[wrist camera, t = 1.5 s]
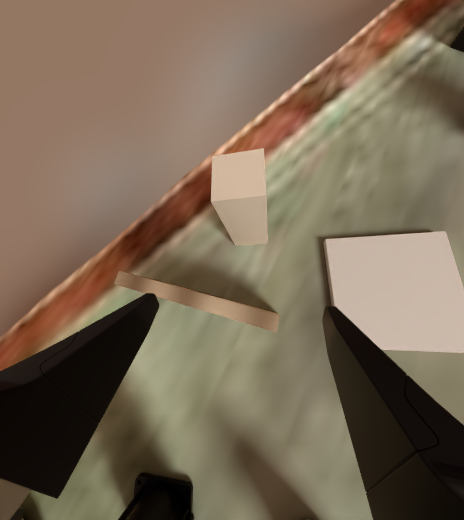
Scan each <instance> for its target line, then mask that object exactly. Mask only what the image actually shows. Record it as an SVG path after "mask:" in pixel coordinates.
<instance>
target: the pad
mask: <svg viewBox="0 0 464 520" xmlns="http://www.w3.org/2000/svg"><path fill="white" fill-rule="evenodd" d="M323 244H324V252H325V259H326V267H327V274H328V282H329V289H330V297H331V304H332V306H336V307H337V308H338V309H339V310H340V311H341V312H342V313H343V314H344V315H345V316H347V317H348V318H349V319H350V320H351V321H352V322H353V323H354V324H355V325H356V326H357V327H358V328H359V329H360V330H361V331H362V332H363V333H364V334H365V335H366V336H367V337H369V338H370V339H371V340H372V341H373V342H374V343H375V344H376V345H377V346H378V347H379V348H380V349H381V350H406V351H433V352H459V353H464V288H463V285H462V282H461V279H460V275H459V272H458V269H457V266H456V263H455V260H454V257H453V253H452V250H451V247H450V244H449V241H448V238H447V235H446V231H443V232H428V233H413V234H398V235H382V236H367V237H352V238H337V239H325V241H324V242H323Z"/></svg>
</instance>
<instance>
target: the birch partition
mask: <svg viewBox="0 0 464 520" xmlns="http://www.w3.org/2000/svg"><path fill="white" fill-rule="evenodd" d="M114 284H116V285H120V286H123V287H126V288H130V289H133V290H136V291H140V292H143V293H154V294H155V295H156V296H157V297H160V298H163V299H167V300H170V301H173V302H177V303H180V304H183V305H187V306H190V307H193V308H197V309H200V310H203V311H207V312H210V313H214V314H217V315H220V316H224V317H227V318H230V319H234V320H237V321H240V322H244V323H247V324H250V325H254V326H257V327H260V328H264V329H267V330H270V331H274V332H277V327H278V322H279V317H280V315H279V314H278V313H275V312H271V311H267V310H264V309H260V308H256V307H253V306H249V305H245V304H242V303H238V302H234V301H231V300H227V299H223V298H220V297H216V296H212V295H209V294H205V293H201V292H198V291H194V290H190V289H187V288H183V287H179V286H176V285H172V284H168V283H165V282H161V281H157V280H154V279H150V278H146V277H142V276H138V275H134V274H130V273H126V272H121V271H119V272H118V275H117V277H116V280H115V282H114Z"/></svg>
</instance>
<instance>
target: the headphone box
mask: <svg viewBox="0 0 464 520" xmlns="http://www.w3.org/2000/svg"><path fill="white" fill-rule="evenodd" d="M451 48H453V49H456V50H459V51H462V52H464V27H463V28H462V30H461V31H460V33H459V34H458V36H457V37H456V39H455V40H454V41H453V43H452V44H451Z"/></svg>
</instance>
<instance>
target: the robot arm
mask: <svg viewBox="0 0 464 520" xmlns="http://www.w3.org/2000/svg"><path fill="white" fill-rule="evenodd" d="M158 309H159V303H158V300H157V297H156V295H155V294H154V293H146V294H145V295H143V296H141V297H139V298H137V299H136V300H134V301H132V302H130V303H128V304H127V305H125V306H123V307H121V308H119V309H118V310H116V311H114V312H112V313H111V314H109V315H107V316H105V317H103V318H102V319H100V320H98V321H96V322H94V323H93V324H91V325H89V326H87V327H85V328H84V329H82V330H80V331H79V332H76V333H75V334H73V335H71V336H69V337H67V338H66V339H64V340H62V341H60V342H58V343H56V344H54V345H52V346H50V347H48V348H47V349H45V350H43V351H41V352H39V353H37V354H35V355H33V356H31V357H29V358H27V359H25V360H23V361H21V362H19V363H17V364H15V365H13V366H11V367H9V368H6V369H4V370H2V371H0V520H22V515H23V511H24V509H23V508H21V507H20V505H21V504H22V503H23V501H24V500H25V498H26V497H27V496H28V494H29V493H30V491H31V490H34V491H37V492H39V493H42V494H45V495H48V496H51V497H54V498H56V499H57V498H58V497H59V496H60V494H61V492H62V491H63V489H64V487H65V485H66V483H67V482H68V480H69V478H70V476H71V474H72V472H73V471H74V469H75V467H76V465H77V463H78V461H79V459H80V458H81V456H82V454H83V452H84V450H85V448H86V447H87V445H88V443H89V441H90V439H91V437H92V435H93V434H94V432H95V430H96V428H97V426H98V424H99V422H100V421H101V419H102V417H103V415H104V413H105V411H106V409H107V408H108V406H109V404H110V402H111V400H112V398H113V397H114V395H115V393H116V391H117V389H118V387H119V386H120V384H121V382H122V380H123V378H124V376H125V375H126V373H127V371H128V369H129V367H130V365H131V363H132V362H133V360H134V358H135V356H136V354H137V352H138V351H139V349H140V347H141V345H142V343H143V341H144V340H145V338H146V336H147V334H148V332H149V330H150V327H151V325H152V323H153V320H154V318H155V316H156V313H157V311H158ZM323 328H324V334H325V341H326V347H327V353H328V357H329V361H330V365H331V368H332V372H333V376H334V379H335V383H336V386H337V390H338V394H339V397H340V401H341V404H342V408H343V412H344V415H345V419H346V423H347V426H348V430H349V433H350V437H351V441H352V444H353V448H354V451H355V455H356V459H357V462H358V466H359V469H360V473H361V477H362V480H363V484H364V487H365V491H366V492H367V493H366V495H367V499H368V502H369V506H370V509H371V513H372V517H373V520H464V425H463V424H462V423H460V422H459V421H458V420H457V419H456V418H455V417H453V416H452V415H451V414H450V413H449V412H448V411H447V410H445V409H444V408H443V407H442V406H441V405H440V404H439V403H437V402H436V401H435V400H434V399H433V398H432V397H431V396H430V395H429V394H428V393H426V392H425V391H424V390H423V389H422V388H421V387H420V386H419V385H418V384H417V383H416V382H415V381H414V380H413V379H412V378H411V377H409V376H408V375H407V376H406V373H405V372H404V371H403V370H402V369H401V368H400V367H399V366H398V365H397V364H396V363H395V362H394V361H393V360H392V359H391V358H389V357H388V356H387V355H386V354H385V353H384V352H383V351H382V350H381V349H380V348H379V347H378V346H377V345H376V344H375V343H374V342H373V341H372V340H371V339H370V338H369V337H367V336H366V335H365V334H364V333H363V332H362V331H361V330H360V329H359V328H358V327H357V326H356V325H355V324H354V323H353V322H352V321H351V320H350V319H349V318H348V317H347V316H345V315H344V314H343V313H342V312H341V311H340V310H339V309H338V308H337V307H336V306H328V305H327V306H326V307H325V310H324V314H323ZM140 479H141V481H142V482H141V481H140ZM186 488H187V489H188V490H189V491H187V489H186ZM192 500H193V486H192V484H191V483H190V482H186V481H181V480H176V479H171V478H166V477H160V476H155V475H150V474H145V473H140V474H139V475H138V477H137V478H136V481H135V490H134V498H133V500H132V501H131V502H130V504H129V505H128V507H127V508H126V509H125V511H124V512H123V513H122V515H121V516H120V518H119V519H118V520H194V515H193V513H192Z"/></svg>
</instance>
